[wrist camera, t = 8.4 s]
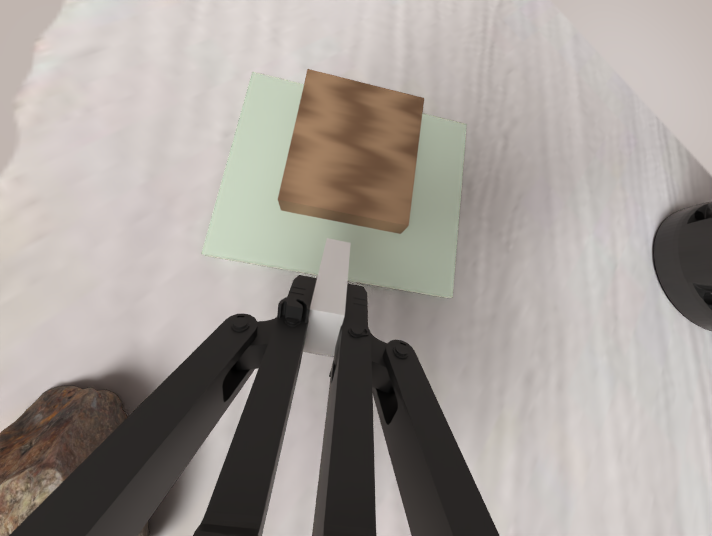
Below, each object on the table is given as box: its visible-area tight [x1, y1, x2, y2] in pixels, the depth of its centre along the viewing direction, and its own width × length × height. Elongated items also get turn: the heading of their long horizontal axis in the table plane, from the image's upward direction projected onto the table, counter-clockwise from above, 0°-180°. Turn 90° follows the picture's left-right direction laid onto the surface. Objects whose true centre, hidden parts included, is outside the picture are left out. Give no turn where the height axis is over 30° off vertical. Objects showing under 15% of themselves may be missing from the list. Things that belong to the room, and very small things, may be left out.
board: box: [278, 69, 424, 234], centre depth 28 cm, size 12×2×14 cm
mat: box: [201, 72, 467, 298], centre depth 29 cm, size 24×20×1 cm
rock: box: [0, 386, 150, 536], centre depth 18 cm, size 14×9×10 cm
